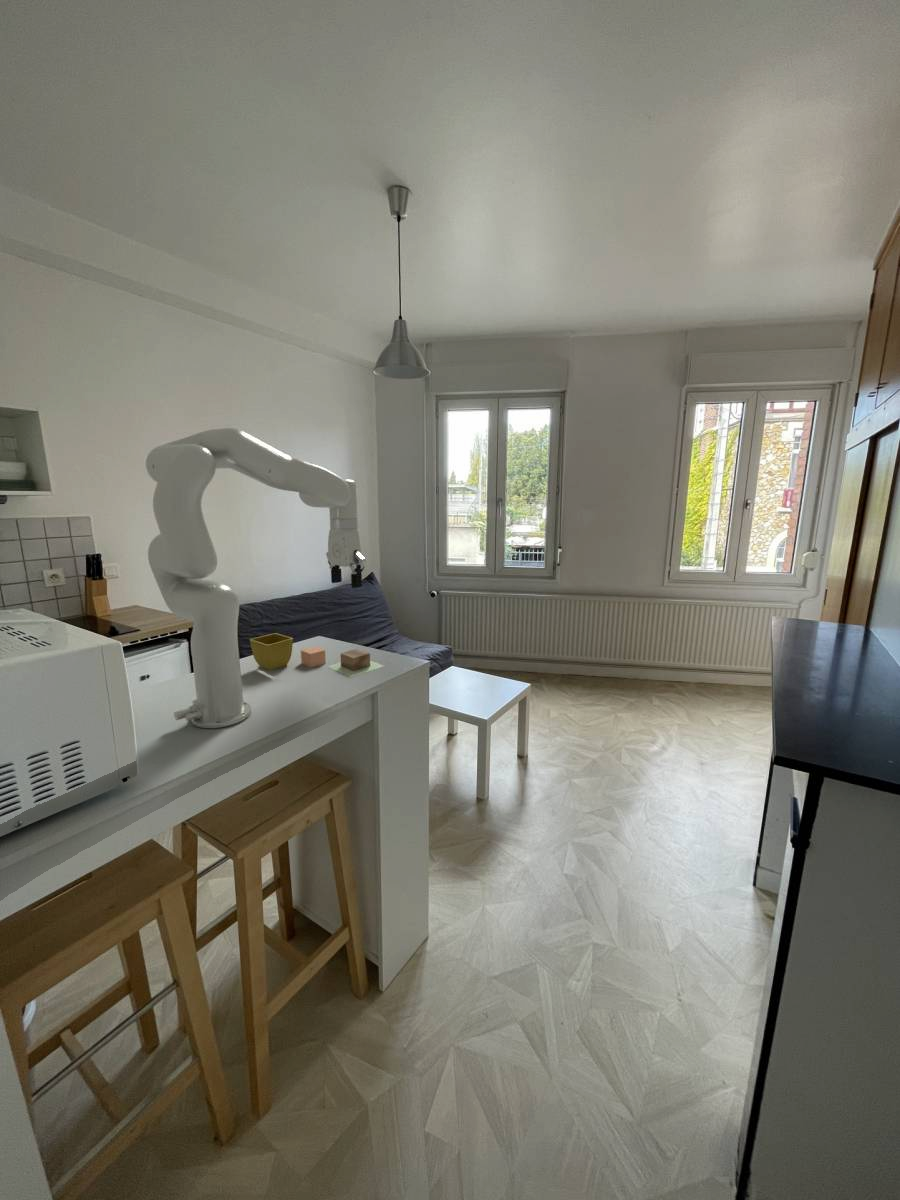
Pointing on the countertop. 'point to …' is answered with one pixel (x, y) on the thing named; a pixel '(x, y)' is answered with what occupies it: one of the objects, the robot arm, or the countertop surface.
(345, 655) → the base block
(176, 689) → the countertop surface
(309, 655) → the cube
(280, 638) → the flower pot
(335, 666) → the plate
